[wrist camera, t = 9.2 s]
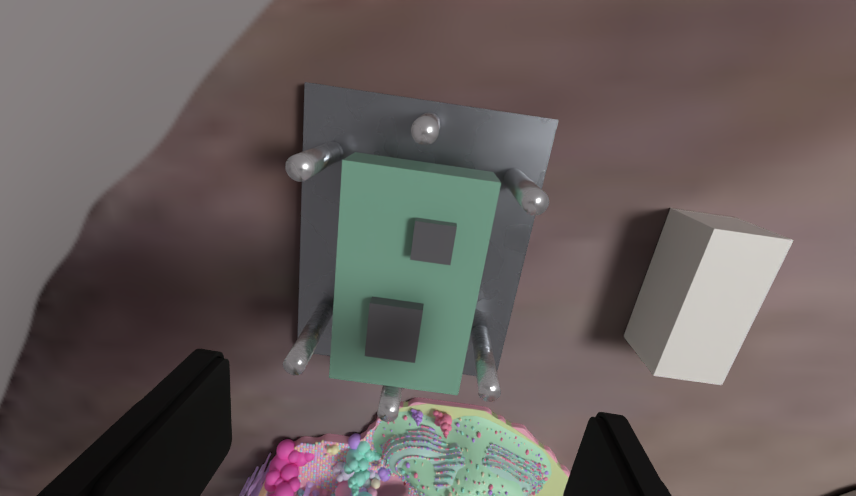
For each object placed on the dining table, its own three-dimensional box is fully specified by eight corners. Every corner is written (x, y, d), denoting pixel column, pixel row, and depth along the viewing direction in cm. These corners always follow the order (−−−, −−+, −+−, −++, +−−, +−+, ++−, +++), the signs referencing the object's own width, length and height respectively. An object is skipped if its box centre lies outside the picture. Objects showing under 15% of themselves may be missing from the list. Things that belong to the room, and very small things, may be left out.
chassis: (493, 368, 25) (508, 446, 19) (302, 341, 25) (261, 413, 19) (552, 119, 20) (597, 126, 14) (311, 82, 19) (257, 75, 14)
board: (456, 363, 21) (458, 404, 18) (341, 347, 20) (325, 386, 18) (493, 172, 17) (503, 186, 14) (355, 152, 17) (338, 162, 14)
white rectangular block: (681, 344, 24) (721, 385, 20) (623, 336, 24) (653, 375, 20) (737, 217, 21) (793, 240, 18) (670, 208, 21) (714, 228, 18)
